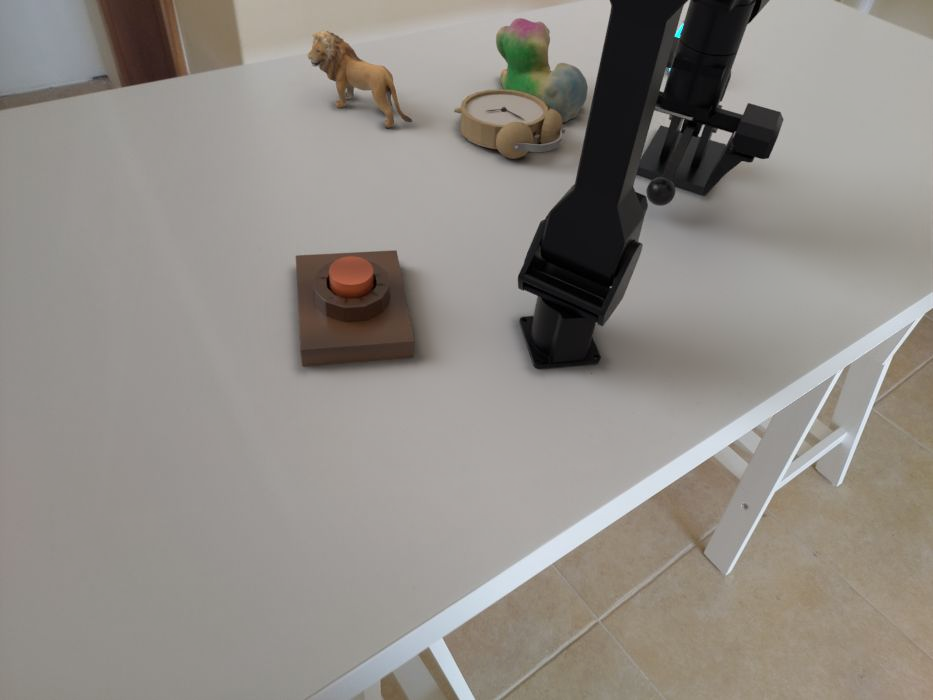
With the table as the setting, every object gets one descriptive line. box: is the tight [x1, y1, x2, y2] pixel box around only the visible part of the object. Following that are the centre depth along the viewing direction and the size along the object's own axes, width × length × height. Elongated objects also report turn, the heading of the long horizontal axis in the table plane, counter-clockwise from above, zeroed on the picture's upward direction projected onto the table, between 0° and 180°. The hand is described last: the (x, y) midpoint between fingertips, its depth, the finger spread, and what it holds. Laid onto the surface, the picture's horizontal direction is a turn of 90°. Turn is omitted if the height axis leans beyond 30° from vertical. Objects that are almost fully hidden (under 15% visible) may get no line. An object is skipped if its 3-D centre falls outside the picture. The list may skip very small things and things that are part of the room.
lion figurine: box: [306, 30, 413, 128], centre depth 94 cm, size 15×5×9 cm, turn 66°
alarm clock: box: [453, 88, 566, 160], centre depth 94 cm, size 11×5×15 cm
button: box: [329, 256, 374, 299], centre depth 67 cm, size 4×4×2 cm
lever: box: [645, 119, 704, 207], centre depth 87 cm, size 17×3×3 cm, turn 155°
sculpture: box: [495, 17, 588, 124], centre depth 100 cm, size 15×8×10 cm, turn 46°
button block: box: [295, 249, 415, 367], centre depth 69 cm, size 13×10×4 cm
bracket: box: [636, 104, 727, 197], centre depth 92 cm, size 12×9×8 cm
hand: (664, 181), depth 82 cm, fingers open, 9 cm apart
